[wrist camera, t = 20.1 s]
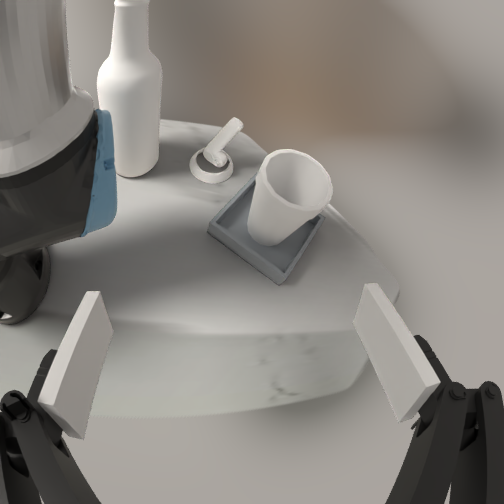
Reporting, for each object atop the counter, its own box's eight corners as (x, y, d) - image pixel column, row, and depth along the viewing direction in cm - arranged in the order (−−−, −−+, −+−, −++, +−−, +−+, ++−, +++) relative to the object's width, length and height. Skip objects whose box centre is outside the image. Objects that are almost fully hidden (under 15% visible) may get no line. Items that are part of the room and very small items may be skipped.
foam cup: (283, 199, 49) (315, 148, 38) (303, 249, 46) (344, 206, 35) (229, 206, 46) (250, 150, 35) (247, 260, 43) (275, 215, 32)
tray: (207, 232, 44) (209, 222, 41) (254, 180, 50) (259, 170, 47) (279, 285, 43) (286, 279, 41) (317, 226, 49) (325, 217, 47)
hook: (268, 138, 48) (261, 141, 42) (224, 185, 53) (211, 195, 47) (237, 110, 47) (225, 109, 41) (195, 158, 52) (178, 164, 46)
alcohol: (142, 187, 44) (142, 3, 18) (99, 169, 43) (76, 1, 17) (167, 150, 48) (187, -14, 22) (126, 136, 47) (126, -20, 21)
